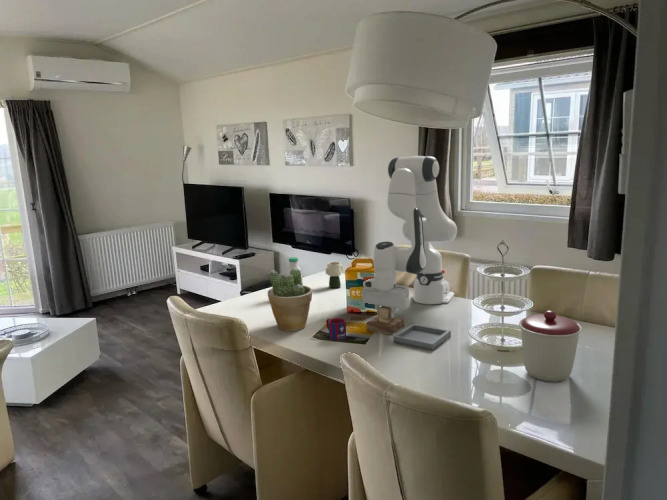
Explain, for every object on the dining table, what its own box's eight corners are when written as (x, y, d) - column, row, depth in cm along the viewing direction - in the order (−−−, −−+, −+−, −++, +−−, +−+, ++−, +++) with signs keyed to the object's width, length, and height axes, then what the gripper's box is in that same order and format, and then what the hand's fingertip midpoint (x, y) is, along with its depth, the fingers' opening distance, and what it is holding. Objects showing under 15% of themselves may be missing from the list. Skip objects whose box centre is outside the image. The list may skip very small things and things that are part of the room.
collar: (380, 322, 219) (380, 314, 219) (404, 326, 213) (404, 318, 212) (366, 330, 211) (366, 321, 210) (391, 335, 204) (391, 326, 203)
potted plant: (294, 316, 231) (291, 261, 226) (323, 325, 218) (321, 267, 213) (261, 327, 219) (257, 269, 214) (289, 338, 205) (286, 276, 201)
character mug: (338, 284, 281) (337, 260, 279) (347, 286, 276) (346, 262, 273) (322, 288, 275) (321, 263, 272) (330, 290, 269) (329, 266, 267)
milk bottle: (304, 298, 257) (302, 258, 253) (288, 300, 256) (286, 260, 252) (302, 294, 265) (300, 255, 261) (286, 295, 263) (284, 257, 259)
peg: (384, 326, 215) (383, 305, 213) (392, 327, 212) (392, 306, 210) (379, 329, 211) (378, 307, 210) (387, 330, 209) (387, 309, 207)
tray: (412, 329, 209) (412, 323, 209) (450, 336, 200) (450, 330, 200) (393, 342, 197) (393, 336, 196) (432, 350, 187) (432, 344, 187)
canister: (531, 358, 178) (533, 298, 174) (587, 373, 165) (591, 309, 161) (507, 376, 165) (509, 312, 161) (566, 393, 153) (569, 324, 148)
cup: (334, 341, 200) (334, 324, 198) (321, 334, 208) (321, 317, 207) (349, 337, 203) (349, 321, 202) (336, 330, 212) (335, 314, 210)
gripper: (412, 284, 205) (412, 318, 207) (367, 278, 216) (368, 310, 219) (404, 288, 200) (405, 322, 202) (359, 281, 211) (360, 314, 214)
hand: (385, 316), depth 211 cm, fingers closed on peg, 4 cm apart
